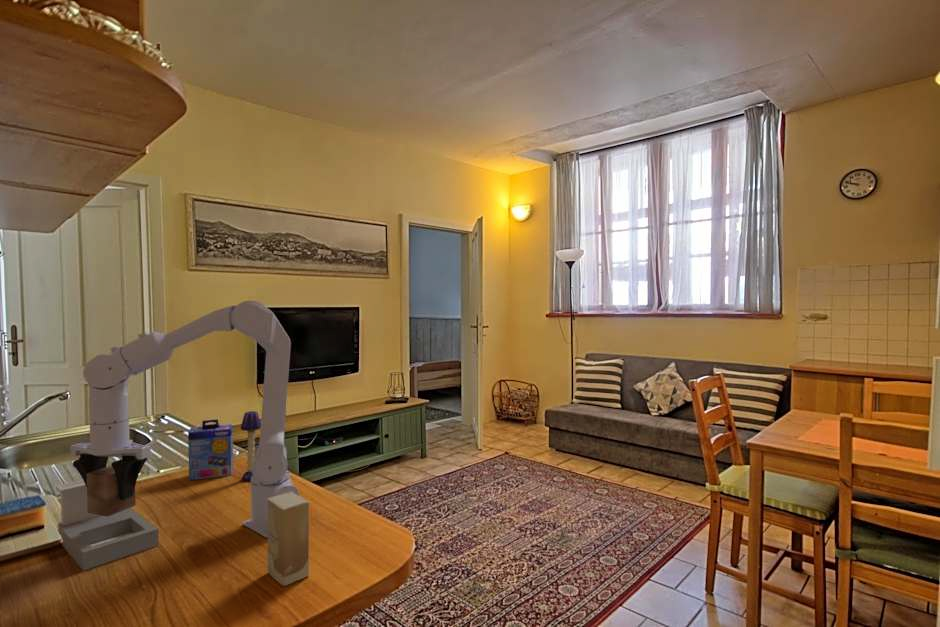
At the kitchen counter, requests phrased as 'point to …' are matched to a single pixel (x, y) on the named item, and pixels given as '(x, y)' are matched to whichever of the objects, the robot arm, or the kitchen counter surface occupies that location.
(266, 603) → the kitchen counter surface
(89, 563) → the socket block
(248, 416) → the toy lamp
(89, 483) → the walnut peg
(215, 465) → the ink cartridge box
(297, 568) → the skincare box
